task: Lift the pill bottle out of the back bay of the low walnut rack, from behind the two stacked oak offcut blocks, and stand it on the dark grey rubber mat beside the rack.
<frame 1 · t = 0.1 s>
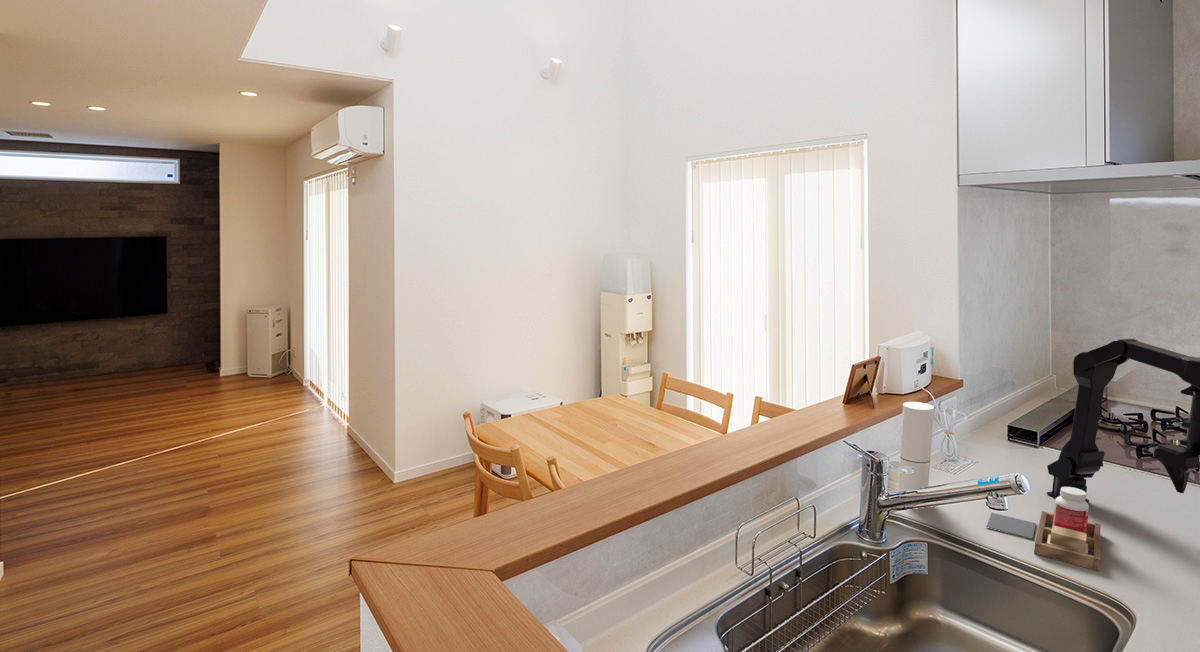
hand: (1197, 490, 130), 15 cm above the worktop, tool pointing down, fingers open, 9 cm apart
upper offcut: (1067, 543, 133), point 2 cm above the worktop
cylindrical container: (912, 497, 162), on the worktop
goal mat: (1011, 526, 145), on the worktop
pill bottle: (1068, 536, 140), resting in rack
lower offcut: (1066, 554, 134), resting in rack
rack: (1067, 543, 137), on the worktop
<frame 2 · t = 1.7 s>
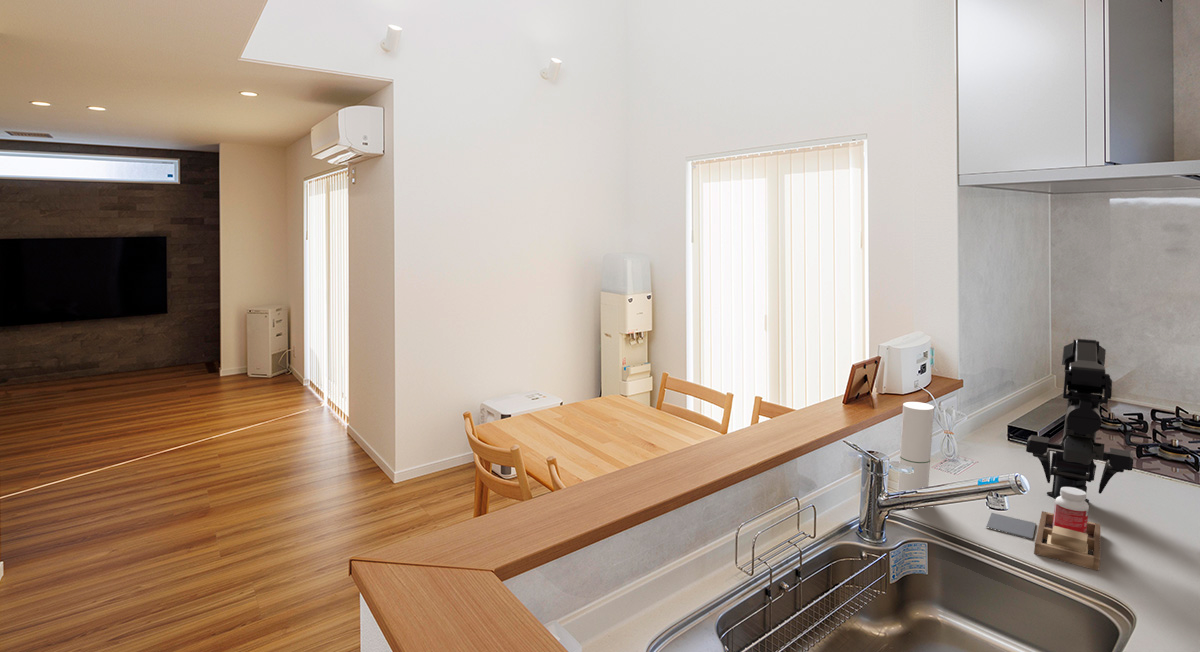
hand: (1073, 487, 139), 12 cm above the worktop, tool pointing down, fingers open, 9 cm apart
nothing on the worktop moved.
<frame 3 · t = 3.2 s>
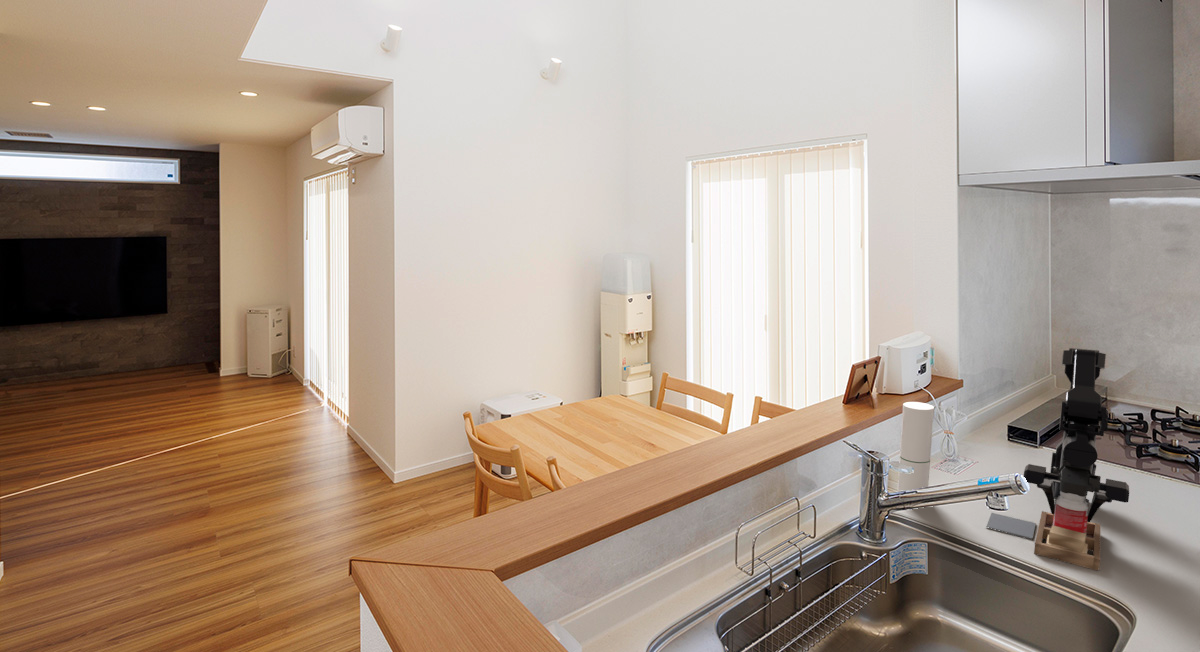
hand: (1070, 517, 140), 5 cm above the worktop, tool pointing down, fingers closed on pill bottle, 6 cm apart
upper offcut: (1066, 543, 133), point 2 cm above the worktop, touching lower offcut
pill bottle: (1068, 536, 140), resting in rack, touching gripper
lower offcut: (1065, 554, 133), resting in rack, touching upper offcut
everything else where it was.
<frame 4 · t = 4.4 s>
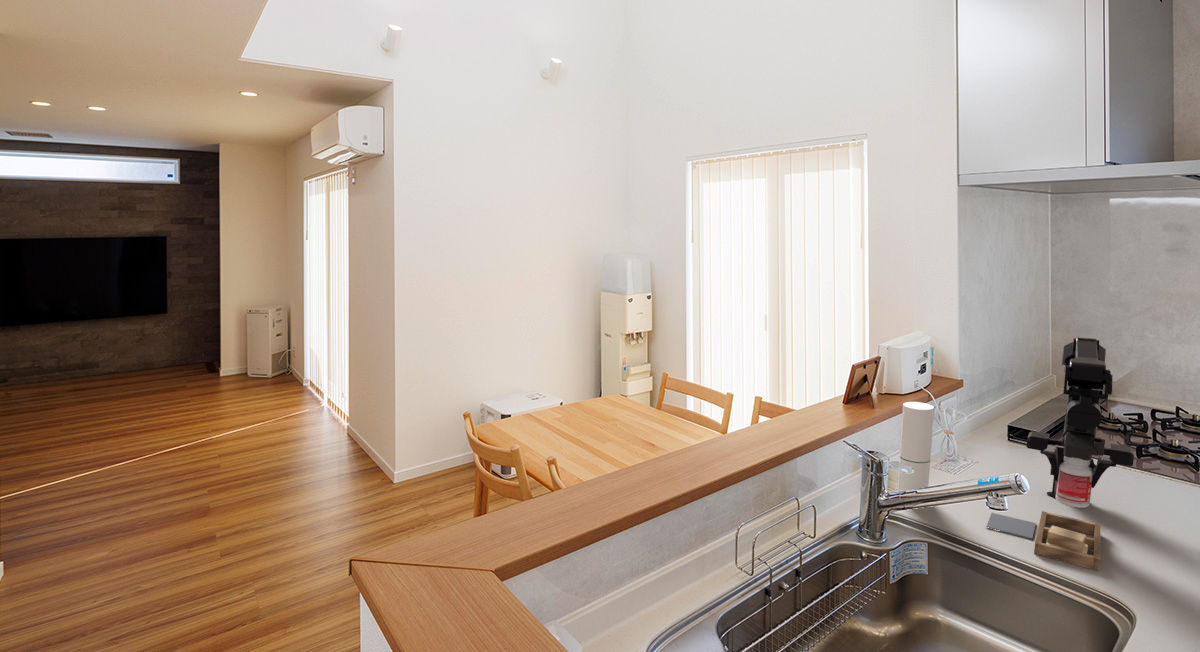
hand: (1074, 483, 138), 13 cm above the worktop, tool pointing down, fingers closed on pill bottle, 6 cm apart
pill bottle: (1071, 503, 139), point 8 cm above the worktop, touching gripper
everything else where it was.
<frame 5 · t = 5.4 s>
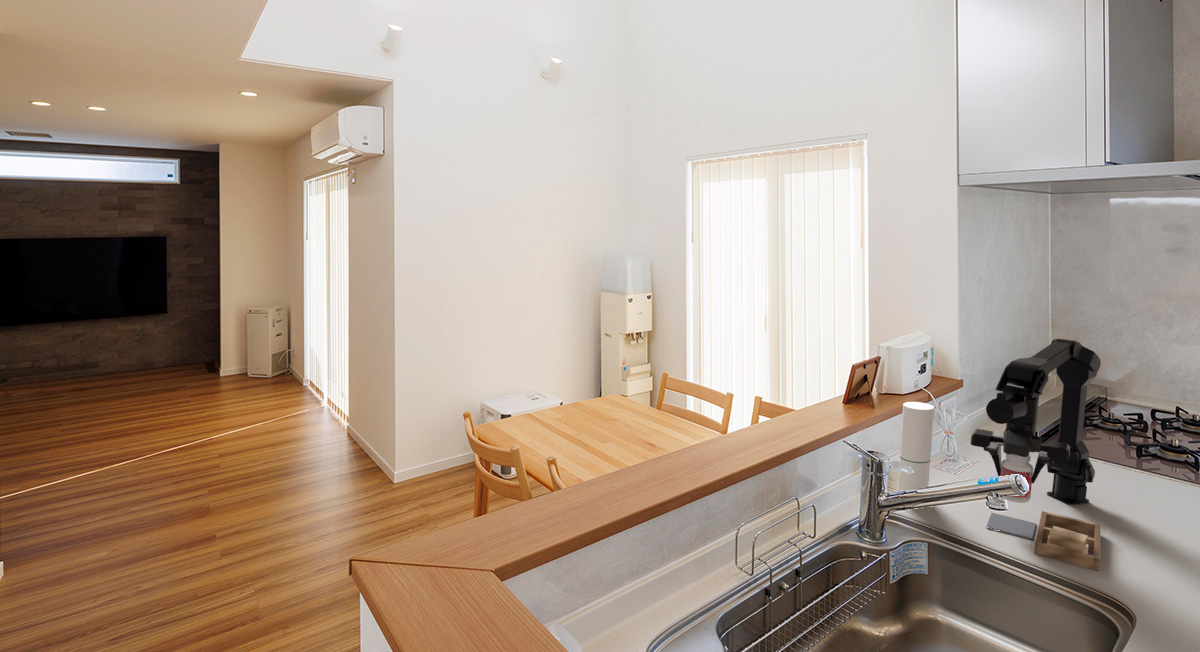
hand: (1015, 479, 143), 12 cm above the worktop, tool pointing down, fingers closed on pill bottle, 6 cm apart
pill bottle: (1014, 498, 144), point 7 cm above the worktop, touching gripper
everything else where it was.
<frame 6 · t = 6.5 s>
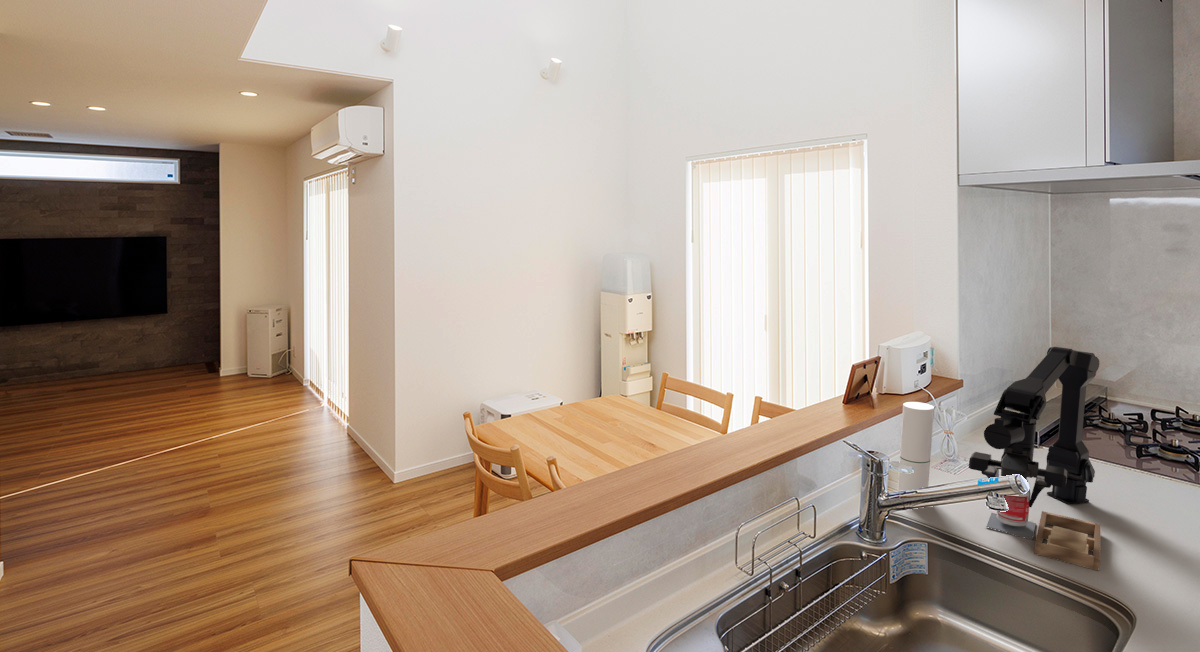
hand: (1013, 503, 144), 6 cm above the worktop, tool pointing down, fingers closed on pill bottle, 6 cm apart
pill bottle: (1011, 521, 145), point 1 cm above the worktop, touching gripper
everything else where it was.
when the fingers open (6 cm above the worktop, at t = 7.2 s): pill bottle stays where it is, resting on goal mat.
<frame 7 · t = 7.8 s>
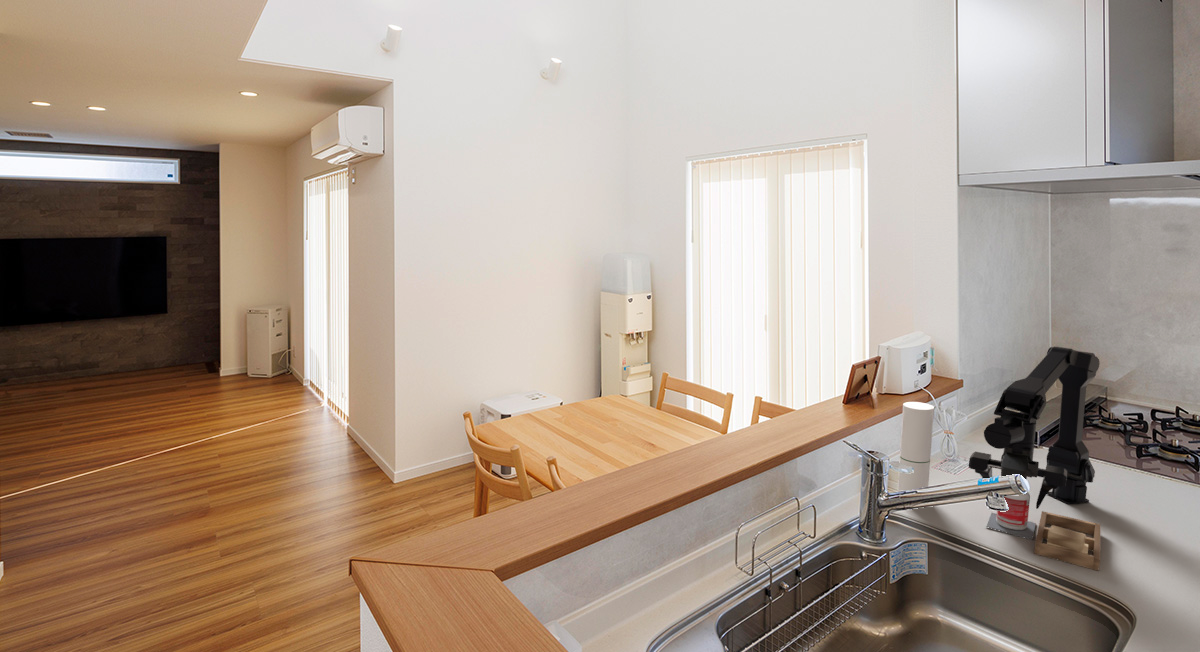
hand: (1013, 502, 144), 6 cm above the worktop, tool pointing down, fingers open, 9 cm apart
pill bottle: (1011, 525, 145), resting on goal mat
everything else where it was.
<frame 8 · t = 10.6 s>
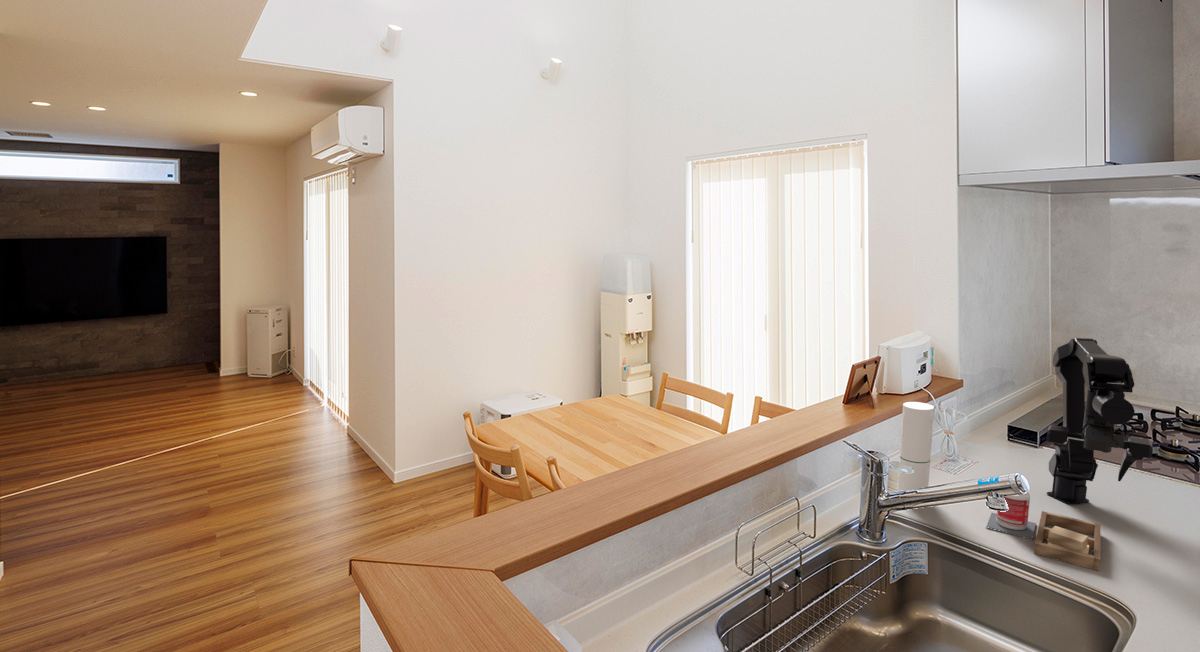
hand: (1093, 475, 142), 13 cm above the worktop, tool pointing down, fingers open, 9 cm apart
nothing on the worktop moved.
at the end: pill bottle 0.0 cm from the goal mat (horizontally); pill bottle tilted 0°; pill bottle resting on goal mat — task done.
